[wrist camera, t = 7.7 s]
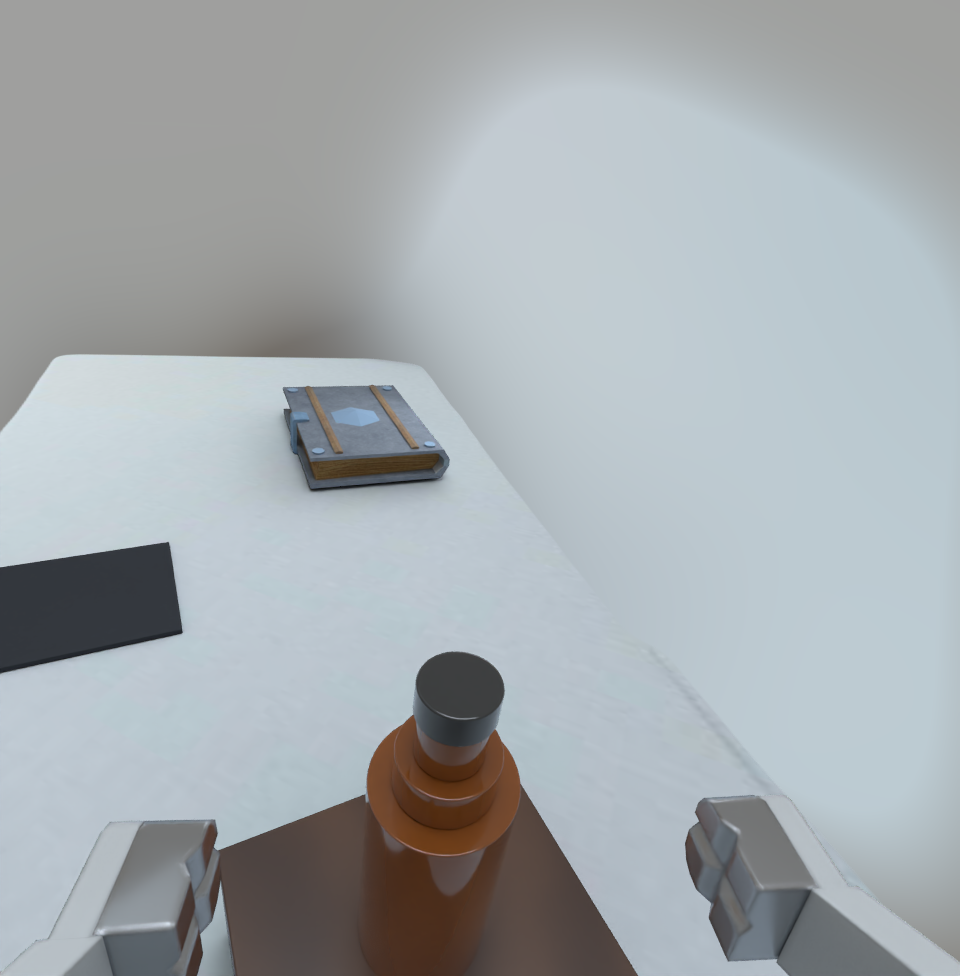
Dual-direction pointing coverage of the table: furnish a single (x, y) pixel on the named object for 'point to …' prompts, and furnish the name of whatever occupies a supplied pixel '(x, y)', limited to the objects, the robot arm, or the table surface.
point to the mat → (86, 604)
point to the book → (360, 436)
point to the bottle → (437, 823)
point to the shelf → (335, 892)
